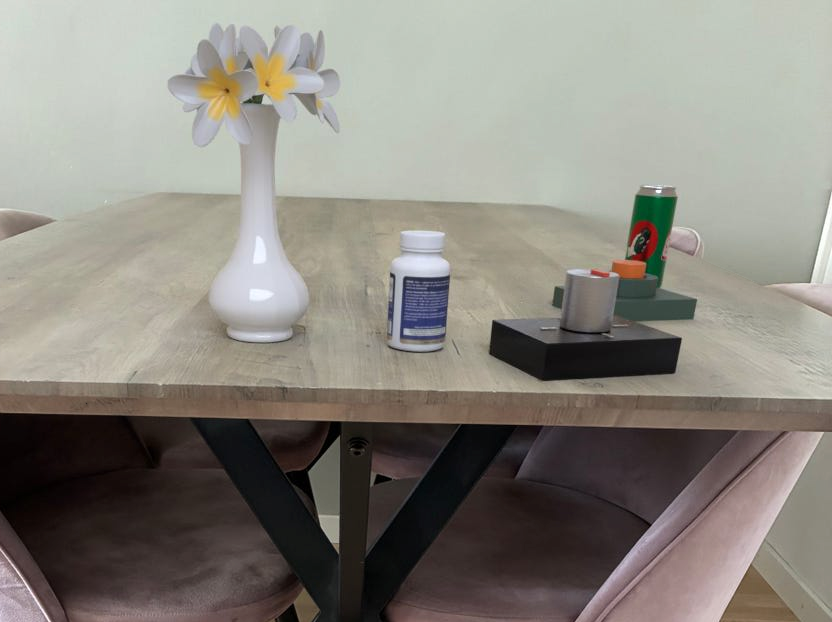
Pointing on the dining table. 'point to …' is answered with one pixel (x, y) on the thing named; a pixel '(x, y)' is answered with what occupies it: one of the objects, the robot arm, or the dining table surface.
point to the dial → (589, 300)
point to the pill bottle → (418, 293)
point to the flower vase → (256, 162)
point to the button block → (644, 301)
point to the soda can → (652, 227)
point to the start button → (629, 268)
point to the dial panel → (583, 349)
